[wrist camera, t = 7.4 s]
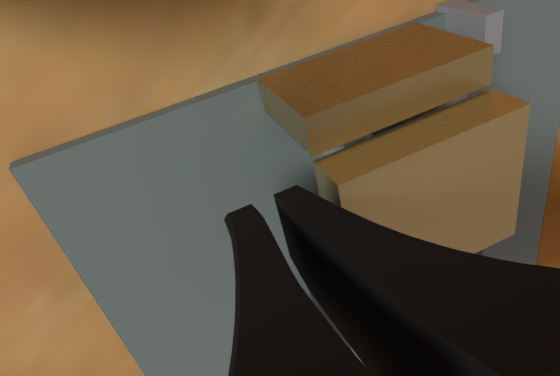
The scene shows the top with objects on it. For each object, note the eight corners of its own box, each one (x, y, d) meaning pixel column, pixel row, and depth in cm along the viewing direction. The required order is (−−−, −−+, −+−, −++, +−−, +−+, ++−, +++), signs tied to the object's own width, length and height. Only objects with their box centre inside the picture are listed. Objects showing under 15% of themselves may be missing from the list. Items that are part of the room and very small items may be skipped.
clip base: (522, 302, 24) (581, 352, 22) (210, 469, 21) (232, 554, 18) (575, -44, 15) (694, -36, 12) (6, 155, 11) (-15, 235, 8)
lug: (420, 168, 16) (514, 233, 13) (293, 223, 15) (358, 311, 12) (415, 22, 13) (536, 57, 10) (257, 78, 12) (330, 139, 9)
